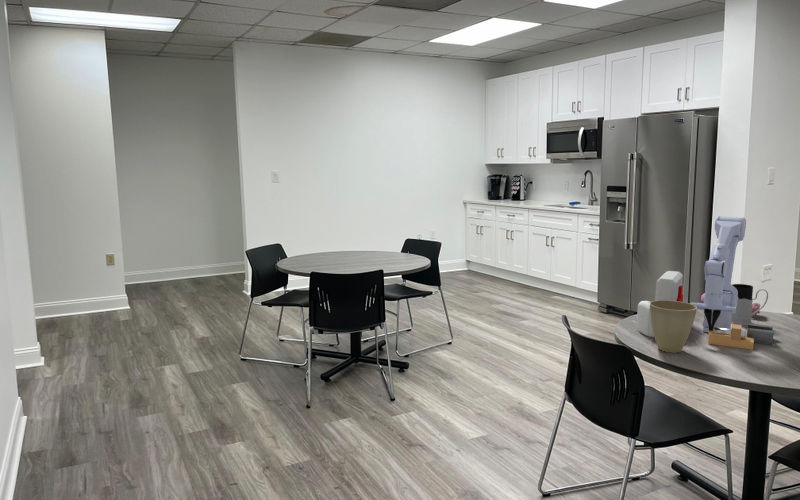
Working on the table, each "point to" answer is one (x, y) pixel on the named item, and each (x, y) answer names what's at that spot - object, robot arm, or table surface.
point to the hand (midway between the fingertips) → (711, 330)
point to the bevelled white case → (669, 287)
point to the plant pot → (671, 323)
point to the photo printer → (644, 319)
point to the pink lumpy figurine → (755, 308)
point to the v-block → (760, 333)
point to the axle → (728, 332)
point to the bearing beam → (731, 338)
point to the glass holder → (744, 304)
